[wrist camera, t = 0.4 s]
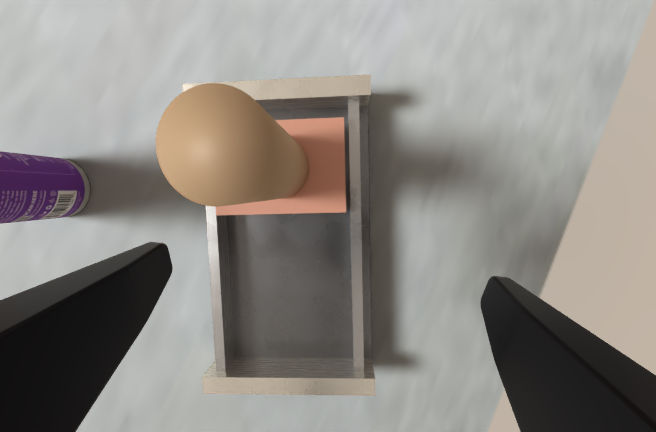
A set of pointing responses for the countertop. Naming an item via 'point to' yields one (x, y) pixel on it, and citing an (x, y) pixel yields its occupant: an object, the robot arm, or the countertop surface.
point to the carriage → (250, 155)
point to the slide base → (297, 267)
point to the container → (40, 187)
